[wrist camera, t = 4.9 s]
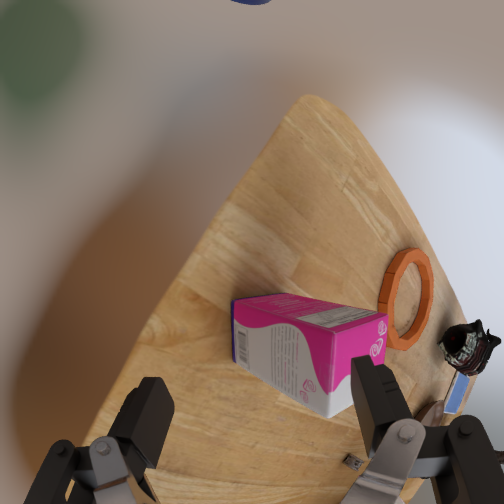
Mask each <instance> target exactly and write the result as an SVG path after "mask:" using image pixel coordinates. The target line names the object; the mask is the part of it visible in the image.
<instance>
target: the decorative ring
mask: <svg viewBox="0 0 504 504" xmlns="http://www.w3.org/2000/svg"><path fill="white" fill-rule="evenodd" d="M343 463H344V464H345V465H346V466H348V467H350V468H352V469H354V470H356V471H358V469H359V467H360V466H361V465H362V463H364V461H363V460H361V459H359V458H357V457H356V456H354V455H352V454H349V457H348V458H347V459H346V460H345V462H343Z"/></svg>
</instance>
